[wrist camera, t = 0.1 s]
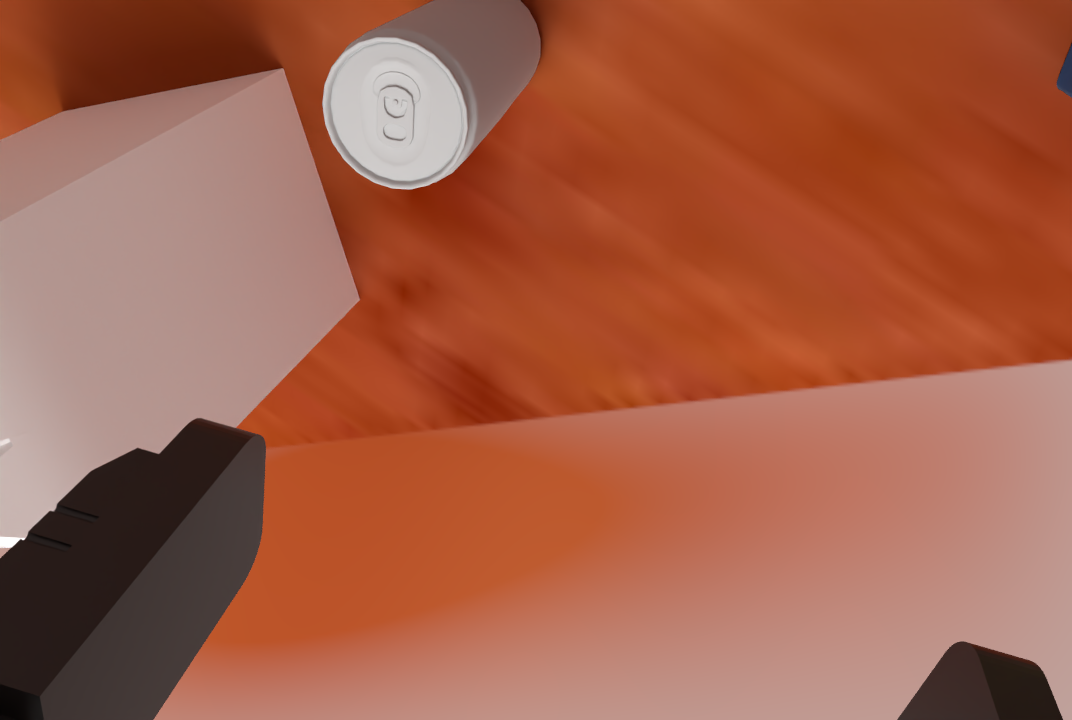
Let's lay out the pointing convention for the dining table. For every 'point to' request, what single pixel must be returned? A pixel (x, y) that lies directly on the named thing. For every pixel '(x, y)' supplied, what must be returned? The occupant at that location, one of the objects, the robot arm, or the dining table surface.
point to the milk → (153, 277)
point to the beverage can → (428, 88)
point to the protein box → (1066, 75)
